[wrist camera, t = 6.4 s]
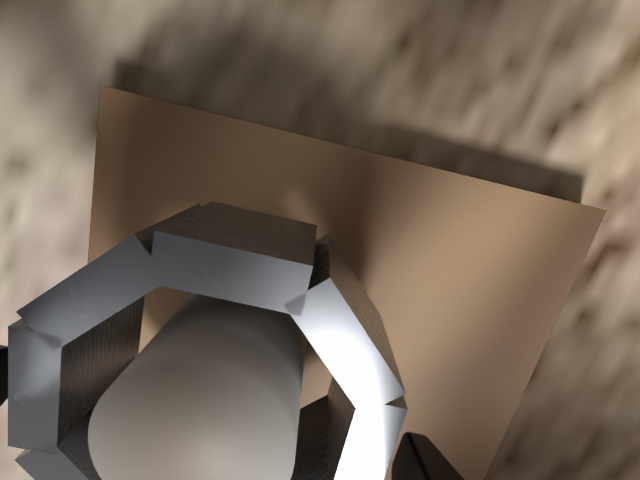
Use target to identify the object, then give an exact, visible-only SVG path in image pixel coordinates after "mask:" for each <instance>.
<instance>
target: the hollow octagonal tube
mask: <svg viewBox="0 0 640 480" xmlns="http://www.w3.org/2000/svg"><path fill="white" fill-rule="evenodd" d="M316 233H317V225H315V224H310V223H306V222H302V221H297V220H293V219H289V218H284V217H280V216H275V215H271V214H267V213H262V212H258V211H254V210H249V209H245V208H241V207H236V206H232V205H227V204H223V203H219V202H214V201H212V202H210V203H208V204H206V205H204V206H202V207H201V205H200V204H197V205H195V206H192V207H190V208H188V209H186V210H184V211H182V212H180V213H177V214H175V215H173V216H171V217H169V218H167V219H164V220H162V221H160V222H158V223H156V224H154V225H152V226H149V227H147V228H145V229H143V230H141V231H139V232H136V233H134V234H133V235H131V236H130V237H128V238H127V239H125V240H124V241H122V242H121V243H119V244H118V245H116V246H114V247H113V248H111V249H110V250H108V251H107V252H105V253H104V254H102V255H101V256H99V257H98V258H96V259H95V260H93V261H92V262H90V263H89V264H87V265H86V266H84V267H83V268H81V269H80V270H78V271H77V272H75V273H74V274H72V275H71V276H69V277H68V278H66V279H65V280H63V281H62V282H60V283H59V284H57V285H56V286H54V287H53V288H51V289H50V290H48V291H47V292H45V293H44V294H42V295H41V296H39V297H38V298H36V299H35V300H33V301H31V302H30V303H28V304H27V305H25V306H24V307H22V308H21V309H19V310H18V311H16V312H17V313H18V314H19V315H20V316H21V318H22V319H20V320H18V321H17V322H15V323H13V324H11V325H10V326H8V446H11V447H17V448H22V449H25V450H24V451H23V452H22V453H21V454H20V455H19V456H18V457H17V458H16V459H15V461H16V462H17V463H18V464H19V465H20V466H21V467H22V468H23V469H24V470H25V471H26V472H27V473H28V474H29V475H31V476H32V477H33V478H34V479H35V480H102V479H101V478H100V476H99V475H98V473H97V471H96V469H95V467H94V465H93V462H92V459H91V455H90V452H89V445H88V428H89V422H90V418H91V415H92V412H93V410H94V408H95V406H96V404H97V402H98V400H99V399H100V398H101V396H102V395H103V394H104V393H105V391H106V390H107V389H108V388H109V387H110V386H111V384H112V383H113V382H114V381H115V380H116V379H117V378H118V377H119V375H120V374H121V373H122V372H123V371H124V370H125V369H126V368H127V366H128V365H129V364H130V363H131V362H132V361H133V360H134V359H135V357H136V356H137V355H138V353H139V344H140V335H141V326H142V317H143V308H144V300H145V295H146V294H147V293H149V292H151V291H152V290H154V289H155V288H157V287H159V286H164V287H168V288H173V289H178V290H182V291H187V292H191V293H196V294H201V295H205V296H210V297H214V298H219V299H224V300H228V301H233V302H237V303H242V304H247V305H251V306H256V307H260V308H265V309H270V310H274V311H279V312H283V313H288V314H290V315H291V316H292V318H293V319H294V321H295V322H296V323H297V325H298V326H299V328H300V329H301V331H302V332H303V333H304V335H305V336H306V338H307V339H308V340H309V342H310V343H311V345H312V346H313V348H314V349H315V350H316V352H317V353H318V355H319V356H320V358H321V359H322V360H323V362H324V363H325V365H326V366H327V367H328V369H329V370H330V372H331V373H332V375H333V376H332V379H331V383H330V386H329V390H328V394H327V395H326V396H324V397H322V398H320V399H318V400H316V401H314V402H312V403H310V404H308V405H306V406H305V407H303V408H301V409H300V414H299V424H298V434H297V445H296V455H295V464H294V469H293V473H292V476H291V479H290V480H383V479H384V476H385V473H386V471H387V468H388V465H389V462H390V459H391V456H392V453H393V451H394V448H395V445H396V442H397V439H398V436H399V434H400V431H401V428H402V425H403V422H404V419H405V416H406V414H407V411H408V408H407V405H406V401H405V398H404V394H406V392H405V389H404V386H403V383H402V380H401V376H400V373H399V370H398V367H397V364H396V361H395V358H394V355H393V352H392V349H391V346H390V343H389V340H388V336H387V333H386V330H385V327H384V324H383V321H382V318H381V315H380V313H379V312H378V310H377V309H376V307H375V305H374V304H373V302H372V301H371V299H370V297H369V296H368V294H367V293H366V291H365V290H364V288H363V286H362V285H361V283H360V282H359V280H358V279H357V277H356V275H355V274H354V272H353V271H352V269H351V268H350V266H349V264H348V263H347V261H346V260H345V258H344V257H343V255H342V253H341V252H340V250H339V249H338V247H337V246H336V244H335V242H334V241H333V239H332V238H331V236H330V234H329V233H328V234H326V235H324V236H323V237H321V238H319V239H318V240H316Z"/></svg>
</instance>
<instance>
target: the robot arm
mask: <svg viewBox="0 0 640 480" xmlns="http://www.w3.org/2000/svg"><path fill="white" fill-rule="evenodd" d="M7 398H8V346H3V345H0V406H1V405H2V404H3V403H4V402H5V401H6V399H7ZM391 479H392V480H465V479H464V478H463V477H462V476H461V475H460V474H459V472H458V471H457V470H456V469H455V468H454V467H453V466H452V464H451V463H450V462H449V461H448V460H447V459H446V458H445V456H444V455H443V454H442V453H441V452H440V451H439V450H438V448H437V447H436V446H435V445H434V444H433V443H432V442H431V440H430V439H429V438H428V437H427V436H425V435H423V434H419V433H414V432H409V431H408V432H405V433H404V434H403V436H402V438H401V441H400V444H399V447H398V449H397V452H396V455H395V458H394V460H393V464H392V470H391Z"/></svg>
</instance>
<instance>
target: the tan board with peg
mask: <svg viewBox="0 0 640 480" xmlns="http://www.w3.org/2000/svg"><path fill="white" fill-rule="evenodd" d="M212 201H214V202H219V203H223V204H227V205H232V206H236V207H241V208H245V209H249V210H254V211H258V212H262V213H267V214H271V215H275V216H280V217H284V218H289V219H293V220H297V221H302V222H306V223H310V224H315V225H317V233H316V240H318V239H319V238H321V237H323V236H324V235H326V234H328V233H329V234H330V236H331V238H332V239H333V241H334V242H335V244H336V246H337V247H338V249H339V250H340V252H341V253H342V255H343V257H344V258H345V260H346V261H347V263H348V264H349V266H350V268H351V269H352V271H353V272H354V274H355V275H356V277H357V279H358V280H359V282H360V283H361V285H362V286H363V288H364V290H365V291H366V293H367V294H368V296H369V297H370V299H371V301H372V302H373V304H374V305H375V307H376V309H377V310H378V312H379V313H380V315H381V318H382V321H383V324H384V327H385V330H386V333H387V336H388V340H389V343H390V346H391V349H392V352H393V355H394V358H395V361H396V364H397V367H398V370H399V373H400V376H401V380H402V383H403V386H404V389H405V392H406V394H404V398H405V401H406V405H407V408H408V411H407V414H406V416H405V419H404V422H403V425H402V428H401V431H400V434H399V436H398V439H397V442H396V445H395V448H394V451H393V453H392V456H391V459H390V462H389V465H388V468H387V471H386V473H385V476H384V479H383V480H392V479H391V470H392V464H393V460H394V458H395V455H396V452H397V449H398V447H399V444H400V441H401V438H402V436H403V434H404V433H405V432H408V431H409V432H414V433H419V434H423V435H425V436H427V437H428V438H429V439H430V440H431V442H432V443H433V444H434V445H435V446H436V447H437V448H438V450H439V451H440V452H441V453H442V454H443V455H444V456H445V458H446V459H447V460H448V461H449V462H450V463H451V464H452V466H453V467H454V468H455V469H456V470H457V471H458V472H459V474H460V475H461V476H462V477H463V478H464V479H465V480H484V479H485V477H486V475H487V472H488V470H489V468H490V466H491V464H492V461H493V459H494V457H495V455H496V453H497V450H498V448H499V446H500V444H501V442H502V439H503V437H504V435H505V433H506V431H507V428H508V426H509V424H510V422H511V420H512V417H513V415H514V413H515V411H516V409H517V406H518V404H519V402H520V400H521V398H522V395H523V393H524V391H525V389H526V387H527V384H528V382H529V380H530V378H531V376H532V373H533V371H534V369H535V367H536V365H537V362H538V360H539V358H540V356H541V354H542V351H543V349H544V347H545V345H546V343H547V340H548V338H549V336H550V334H551V332H552V329H553V327H554V325H555V323H556V321H557V319H558V316H559V314H560V312H561V310H562V308H563V305H564V303H565V301H566V299H567V297H568V294H569V292H570V290H571V288H572V286H573V283H574V281H575V279H576V277H577V275H578V272H579V270H580V268H581V266H582V264H583V261H584V259H585V257H586V255H587V253H588V250H589V248H590V246H591V244H592V242H593V239H594V237H595V235H596V233H597V231H598V228H599V226H600V224H601V222H602V220H603V217H604V215H605V213H606V211H607V210H603V209H599V208H595V207H591V206H587V205H582V204H578V203H574V202H570V201H566V200H562V199H558V198H554V197H550V196H546V195H542V194H538V193H534V192H530V191H526V190H522V189H518V188H514V187H510V186H506V185H502V184H498V183H494V182H490V181H486V180H482V179H478V178H474V177H470V176H466V175H462V174H457V173H453V172H449V171H445V170H441V169H437V168H433V167H429V166H425V165H421V164H417V163H413V162H409V161H405V160H401V159H397V158H393V157H389V156H385V155H381V154H377V153H373V152H369V151H365V150H361V149H357V148H353V147H349V146H345V145H341V144H337V143H332V142H328V141H324V140H320V139H316V138H312V137H308V136H304V135H300V134H296V133H292V132H288V131H284V130H280V129H276V128H272V127H268V126H264V125H260V124H256V123H252V122H248V121H244V120H240V119H236V118H232V117H228V116H224V115H220V114H216V113H212V112H208V111H203V110H199V109H195V108H191V107H187V106H183V105H179V104H175V103H171V102H167V101H163V100H159V99H155V98H151V97H147V96H143V95H139V94H135V93H131V92H127V91H123V90H119V89H115V88H111V87H107V86H103V85H100V98H99V112H98V126H97V140H96V154H95V168H94V182H93V195H92V209H91V223H90V237H89V251H88V264H89V263H90V262H92V261H93V260H95V259H96V258H98V257H99V256H101V255H102V254H104V253H105V252H107V251H108V250H110V249H111V248H113V247H114V246H116V245H118V244H119V243H121V242H122V241H124V240H125V239H127V238H128V237H130V236H131V235H133V234H134V233H136V232H139V231H141V230H143V229H145V228H147V227H149V226H152V225H154V224H156V223H158V222H160V221H162V220H164V219H167V218H169V217H171V216H173V215H175V214H177V213H180V212H182V211H184V210H186V209H188V208H190V207H192V206H195V205H197V204H200V205H201V207H202V206H204V205H206V204H208V203H210V202H212ZM332 376H333V375H332V373H331V372H330V370H329V369H328V367H327V366H326V365H325V363H324V362H323V360H322V359H321V358H320V356H319V355H318V353H317V352H316V350H315V349H314V348H313V346H312V345H311V343H310V342H309V340H308V339H307V338H306V336H305V335H304V333H303V332H302V331H301V329H300V328H299V326H298V325H297V323H296V322H295V321H294V319H293V318H292V316H291V315H290V314H288V313H283V312H279V311H274V310H270V309H265V308H260V307H256V306H251V305H247V304H242V303H237V302H233V301H228V300H224V299H219V298H214V297H210V296H205V295H201V294H196V293H191V292H187V291H182V290H178V289H173V288H168V287H164V286H159V287H157V288H155V289H154V290H152V291H151V292H149V293H147V294H146V295H145V300H144V308H143V317H142V326H141V335H140V344H139V353H138V355H137V356H136V357H135V359H134V360H133V361H132V362H131V363H130V364H129V365H128V366H127V368H126V369H125V370H124V371H123V372H122V373H121V374H120V375H119V377H118V378H117V379H116V380H115V381H114V382H113V383H112V384H111V386H110V387H109V388H108V389H107V390H106V391H105V393H104V394H103V395H102V396H101V398H100V399H99V400H98V402H97V404H96V406H95V408H94V410H93V412H92V415H91V418H90V422H89V428H88V445H89V452H90V455H91V459H92V462H93V465H94V467H95V469H96V471H97V473H98V475H99V476H100V478H101V479H102V480H290V479H291V476H292V473H293V469H294V464H295V455H296V445H297V434H298V424H299V414H300V409H301V408H303V407H305V406H306V405H308V404H310V403H312V402H314V401H316V400H318V399H320V398H322V397H324V396H326V395H327V394H328V390H329V386H330V383H331V379H332Z"/></svg>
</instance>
